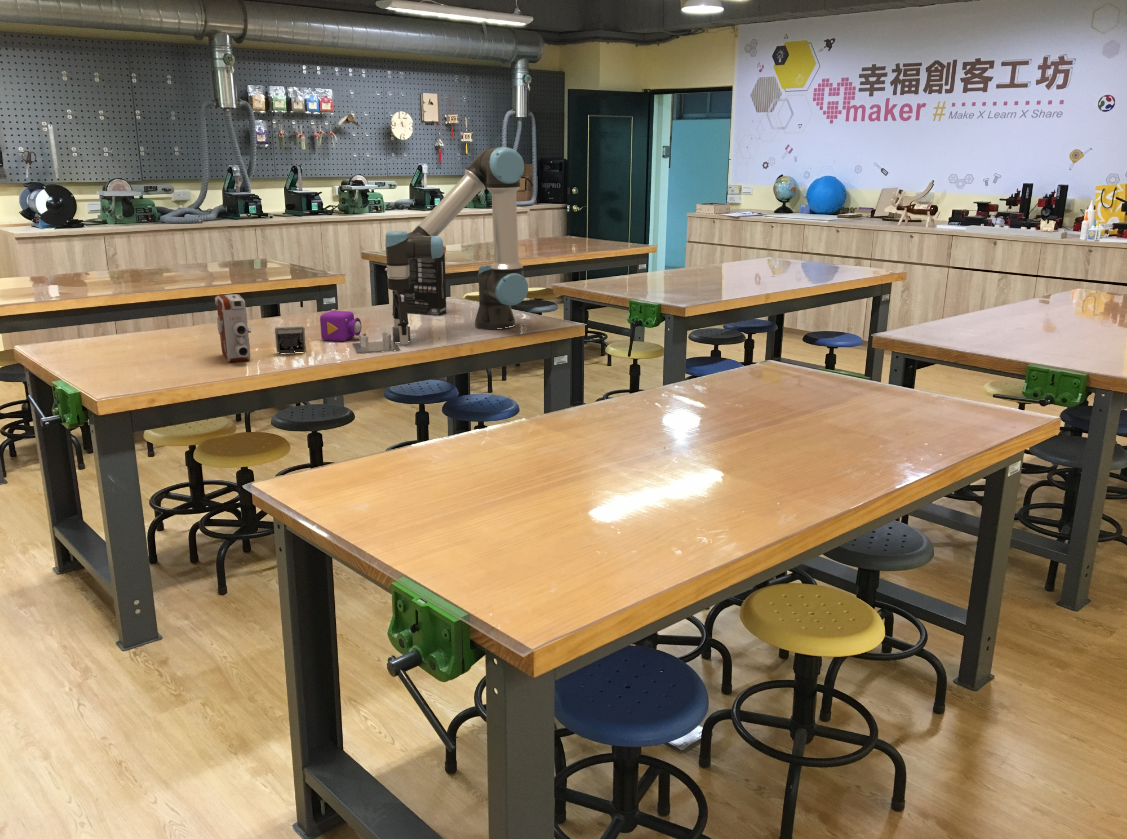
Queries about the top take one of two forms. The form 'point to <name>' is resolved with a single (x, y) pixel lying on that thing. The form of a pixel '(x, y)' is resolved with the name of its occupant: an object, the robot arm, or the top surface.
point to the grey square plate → (375, 344)
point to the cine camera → (233, 327)
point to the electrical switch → (290, 339)
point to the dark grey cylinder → (397, 334)
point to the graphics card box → (427, 286)
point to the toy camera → (339, 325)
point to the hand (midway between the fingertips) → (401, 340)
